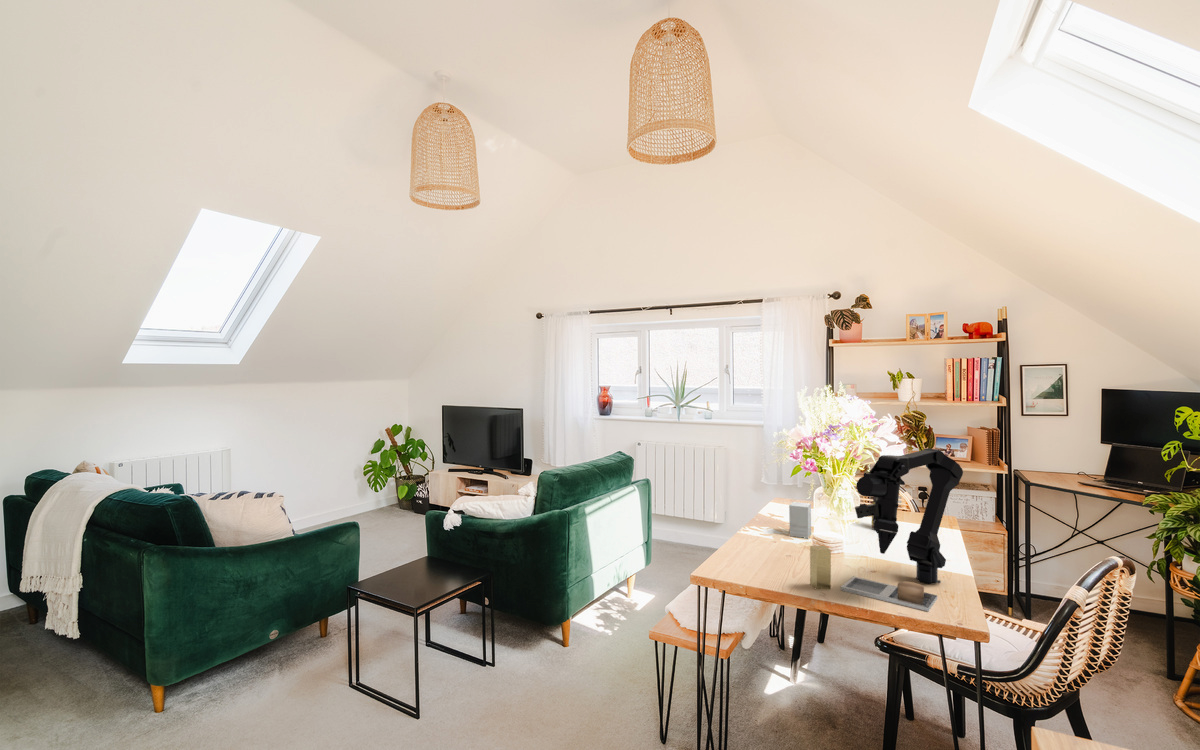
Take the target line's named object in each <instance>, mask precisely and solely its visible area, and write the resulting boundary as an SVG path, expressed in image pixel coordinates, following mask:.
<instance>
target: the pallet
mask: <svg viewBox="0 0 1200 750" xmlns="http://www.w3.org/2000/svg"><path fill="white" fill-rule="evenodd" d="M840 591H843V592H844V593H845V592H846V593H849V594H854V595H858V596H862V597H867V598H870V599H874V600H877V601H883V602H887V603H892V604H893V605H894V604H895V605H899V606H904V607H905V608H907V607H908V608H911V609H915V610H918V611H924V612H930V610H931V609H932V607H933V606H934V605H935V603H936V601H937V600H938V594H933V593H929V592H925V591H924V603H923V604H915V603H911V602H907V601H903V600H899V599H898V585H893V584H889V583H884V582H880V581H875V580H871V579H867V578H862V577H859V576H858V577H857V576H851V577H850V578H849V579H848V580H847V581H846V582H844V584H842V585H841V586H840Z"/></svg>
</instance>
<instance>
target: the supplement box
mask: <svg viewBox="0 0 1200 750" xmlns="http://www.w3.org/2000/svg"><path fill="white" fill-rule="evenodd" d="M788 508H789V510H788V511H789V537H793V536H796V538H801V537H805V538H804V539H809V538H810V537H811V535H812V503H808V502H807V503H806V502H801V501H800V502H798V501H792V502H791V503H790V504H789V506H788ZM809 536H810V537H809ZM808 537H809V538H808Z"/></svg>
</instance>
